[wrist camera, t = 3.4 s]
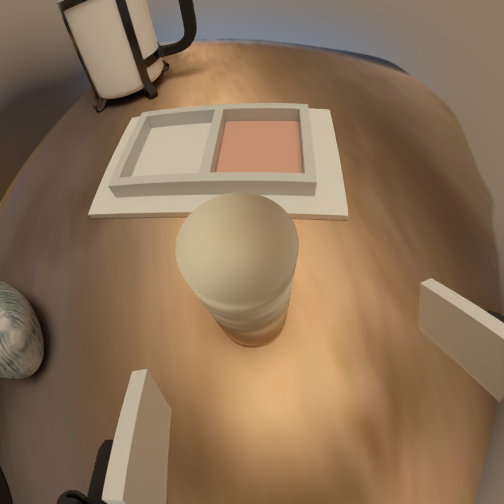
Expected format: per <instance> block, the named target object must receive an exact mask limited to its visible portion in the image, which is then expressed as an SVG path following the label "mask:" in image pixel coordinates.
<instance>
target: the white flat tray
mask: <svg viewBox="0 0 504 504" xmlns="http://www.w3.org/2000/svg"><path fill="white" fill-rule="evenodd" d="M236 192H245V193H253V194H257V195H261V196H264V197H266V198H269V199H270V200H272V201H274V202H276V203H277V204H278V205H280V206H281V207H282V208H283V209H284V210H285V211H286V212H287V213H288V215H289V216H290V217H291V218H295V219H324V220H347V218H348V209H347V202H346V195H345V188H344V182H343V176H342V170H341V164H340V159H339V153H338V148H337V143H336V138H335V133H334V128H333V123H332V119H331V114H330V110H325V109H309V108H308V104H285V103H245V104H220V105H205V106H193V107H182V108H173V109H165V110H157V111H150V112H143V113H142V114H141V116H140V117H135V118H132V119H131V121H130V123H129V125H128V127H127V128H126V130H125V132H124V134H123V136H122V138H121V140H120V142H119V144H118V146H117V148H116V150H115V152H114V154H113V156H112V159H111V161H110V163H109V165H108V167H107V169H106V172H105V174H104V176H103V179H102V181H101V183H100V186H99V188H98V190H97V193H96V195H95V198H94V200H93V203H92V205H91V208H90V211H89V213H88V215H89V216H90V217H91V219H96V218H136V217H188V216H189V215H190V214H191V213H192V212H193V211H194V210H195V209H196V208H197V207H198V206H200V205H201V204H203V203H204V202H206V201H208V200H210V199H212V198H214V197H217V196H220V195H223V194H228V193H236Z"/></svg>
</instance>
